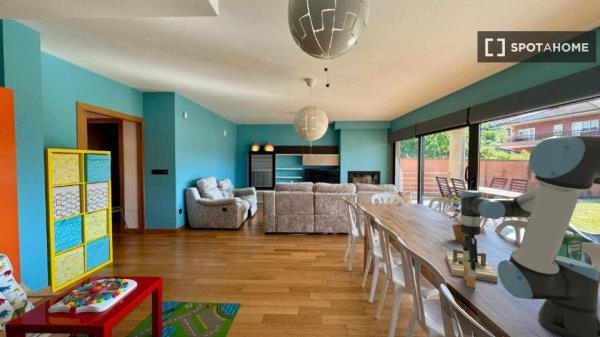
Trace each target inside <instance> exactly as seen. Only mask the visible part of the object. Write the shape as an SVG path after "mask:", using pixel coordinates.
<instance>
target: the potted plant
mask: <svg viewBox="0 0 600 337" xmlns="http://www.w3.org/2000/svg"><path fill="white" fill-rule="evenodd" d="M461 198H462V197H458V196H451V197H448V200H449V201H452V202H455V204H457V202H458V201H459V202H461ZM455 207H456V209H454V210H453V211H452V213H455V215H452V216H450V217H449V219H453V218H454V217H457V216H458V215H459V216H460V218H461V209H459V208H458V207H457V205H455ZM457 212H458V214H457ZM451 226H452V227H451V228H452V229H453V234H454V237H455V241H456V240H457V242H459V241H460V243H463V238H464V233H462V232H461V231H460V230H461V224H452V225H451Z"/></svg>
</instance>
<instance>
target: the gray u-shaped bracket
mask: <svg viewBox="0 0 600 337" xmlns="http://www.w3.org/2000/svg"><path fill="white" fill-rule="evenodd" d="M463 251H464V250H463V249H458V248H453V249H452V253H453V261H456V262H457V254H463ZM477 255H478V256H479V257H481V265H484V266H486V261H487V253H486V252H481V251H477Z"/></svg>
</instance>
